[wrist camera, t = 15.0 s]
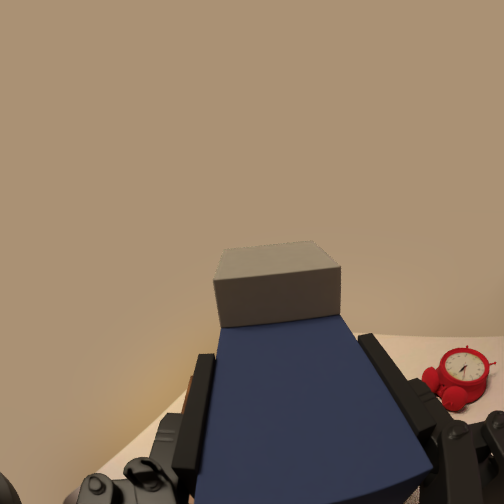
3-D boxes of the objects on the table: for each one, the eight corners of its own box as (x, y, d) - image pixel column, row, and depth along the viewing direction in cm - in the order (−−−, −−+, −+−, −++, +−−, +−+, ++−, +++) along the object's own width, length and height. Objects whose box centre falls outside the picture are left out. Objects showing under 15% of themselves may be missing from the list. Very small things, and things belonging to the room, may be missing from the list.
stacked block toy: (389, 539, 5) (503, 421, 3) (225, 565, 5) (127, 498, 3) (315, 341, 25) (313, 237, 22) (235, 350, 25) (220, 246, 22)
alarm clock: (504, 361, 25) (466, 390, 21) (488, 393, 26) (444, 428, 22) (463, 338, 35) (415, 354, 31) (450, 368, 36) (400, 390, 32)
